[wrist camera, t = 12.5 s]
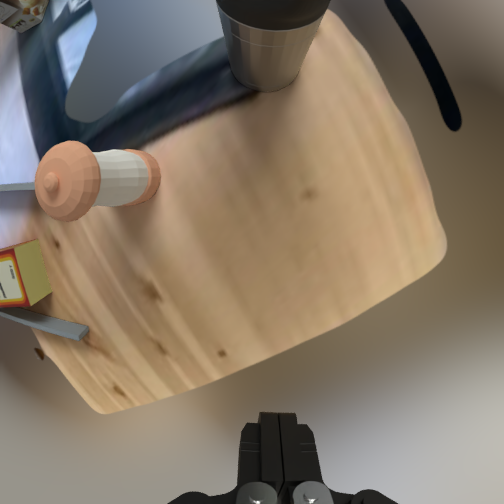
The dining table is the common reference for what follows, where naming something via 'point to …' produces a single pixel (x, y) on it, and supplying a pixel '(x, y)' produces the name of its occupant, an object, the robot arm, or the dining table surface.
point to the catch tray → (37, 319)
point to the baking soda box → (22, 275)
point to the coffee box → (22, 13)
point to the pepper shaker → (93, 179)
